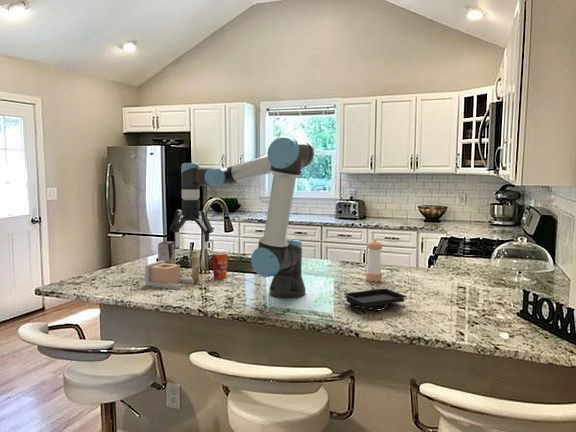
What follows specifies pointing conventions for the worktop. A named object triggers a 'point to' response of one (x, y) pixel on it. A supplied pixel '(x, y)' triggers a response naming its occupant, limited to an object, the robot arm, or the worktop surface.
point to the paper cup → (219, 263)
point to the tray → (374, 298)
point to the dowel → (195, 265)
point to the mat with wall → (158, 284)
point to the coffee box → (166, 252)
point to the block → (166, 273)
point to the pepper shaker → (374, 262)
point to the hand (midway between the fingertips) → (191, 248)
